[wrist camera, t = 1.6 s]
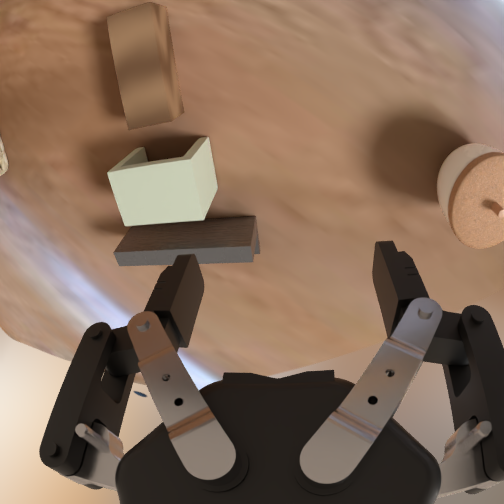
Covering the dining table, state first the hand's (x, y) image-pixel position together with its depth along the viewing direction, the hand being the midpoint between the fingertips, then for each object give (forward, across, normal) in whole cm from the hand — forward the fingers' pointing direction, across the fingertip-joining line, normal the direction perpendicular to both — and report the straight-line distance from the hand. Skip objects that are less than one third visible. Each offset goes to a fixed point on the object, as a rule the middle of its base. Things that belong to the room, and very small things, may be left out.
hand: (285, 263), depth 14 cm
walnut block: (+21, +12, -10) cm, 26 cm away
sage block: (+20, +12, +2) cm, 24 cm away
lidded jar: (+21, -21, +5) cm, 30 cm away
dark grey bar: (+21, +12, +11) cm, 27 cm away
